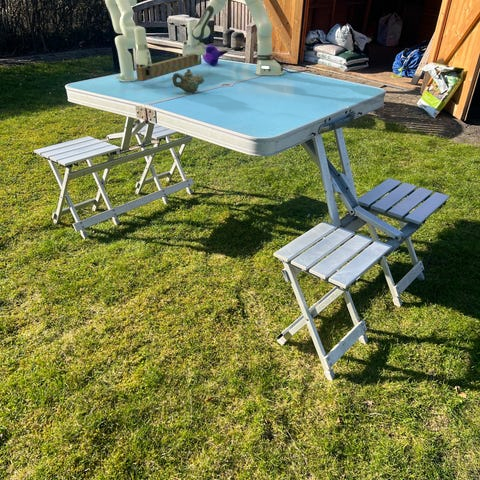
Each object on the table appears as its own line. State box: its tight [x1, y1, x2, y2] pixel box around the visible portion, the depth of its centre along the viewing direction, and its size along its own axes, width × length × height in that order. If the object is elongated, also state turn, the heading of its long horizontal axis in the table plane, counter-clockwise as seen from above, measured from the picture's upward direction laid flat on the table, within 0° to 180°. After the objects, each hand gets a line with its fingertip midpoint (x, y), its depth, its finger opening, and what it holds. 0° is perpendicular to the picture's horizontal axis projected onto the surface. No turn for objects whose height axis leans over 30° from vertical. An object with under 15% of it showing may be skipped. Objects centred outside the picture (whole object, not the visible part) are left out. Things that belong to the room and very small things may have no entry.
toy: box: [201, 44, 229, 67], centre depth 392 cm, size 16×18×27 cm
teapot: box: [172, 68, 205, 94], centre depth 298 cm, size 21×12×15 cm, turn 109°
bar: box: [135, 54, 202, 82], centre depth 340 cm, size 77×5×8 cm, turn 152°
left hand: (145, 74), depth 315 cm, fingers closed on bar, 4 cm apart
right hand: (194, 60), depth 365 cm, fingers closed on bar, 5 cm apart
